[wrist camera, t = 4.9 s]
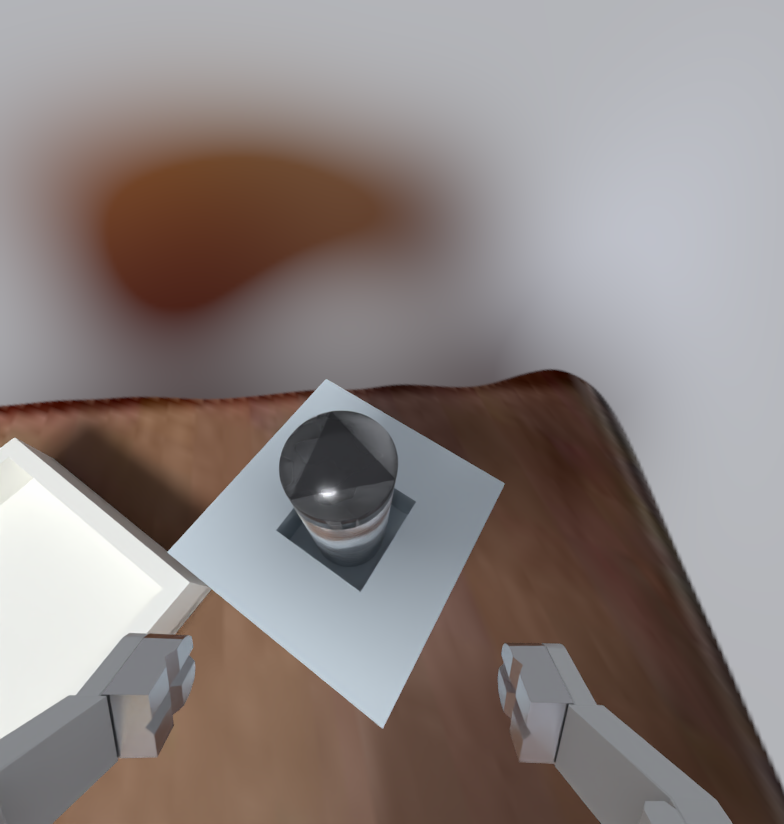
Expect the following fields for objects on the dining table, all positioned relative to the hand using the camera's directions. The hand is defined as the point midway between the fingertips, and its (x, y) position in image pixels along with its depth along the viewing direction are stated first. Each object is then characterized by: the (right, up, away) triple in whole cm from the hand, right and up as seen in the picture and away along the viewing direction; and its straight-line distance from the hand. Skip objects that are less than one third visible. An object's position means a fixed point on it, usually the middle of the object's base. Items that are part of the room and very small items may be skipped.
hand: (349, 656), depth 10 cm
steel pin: (-1, 0, +11) cm, 11 cm away
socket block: (-2, -3, +16) cm, 16 cm away
